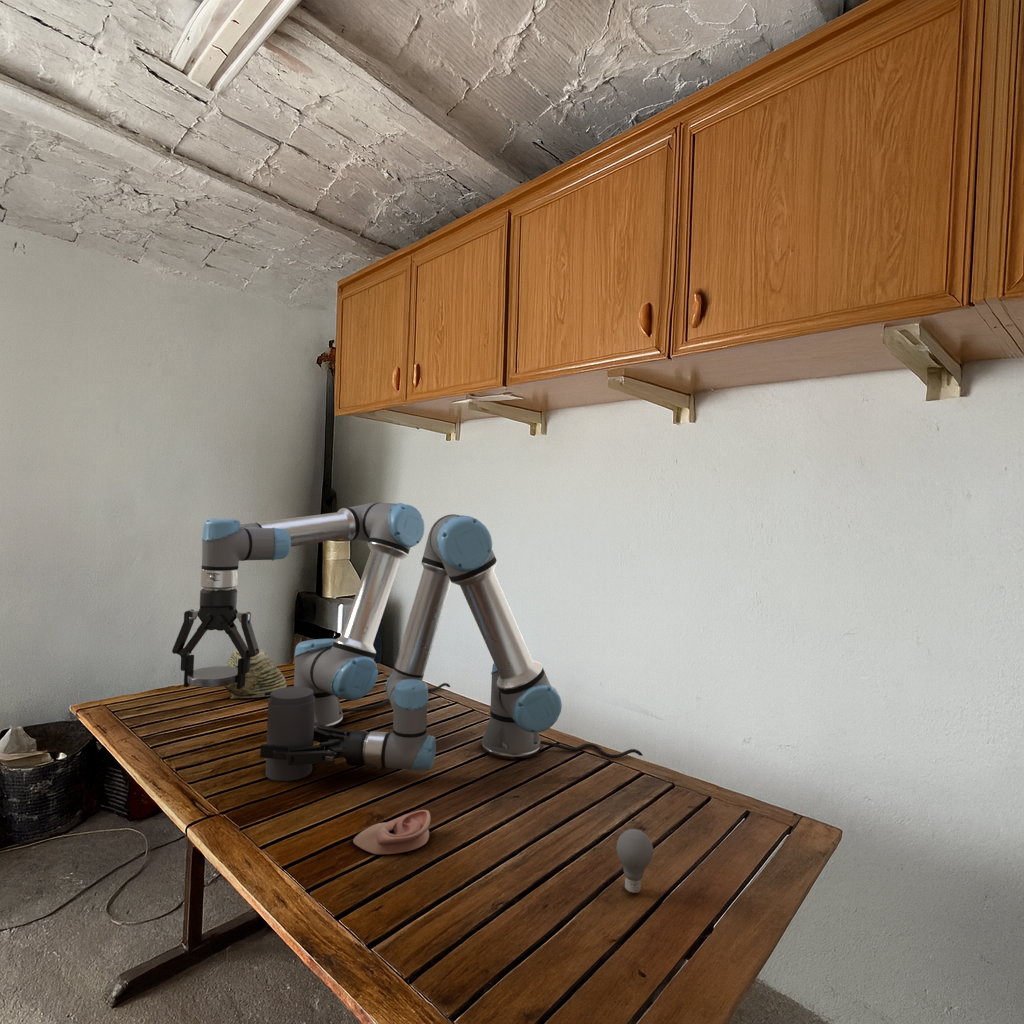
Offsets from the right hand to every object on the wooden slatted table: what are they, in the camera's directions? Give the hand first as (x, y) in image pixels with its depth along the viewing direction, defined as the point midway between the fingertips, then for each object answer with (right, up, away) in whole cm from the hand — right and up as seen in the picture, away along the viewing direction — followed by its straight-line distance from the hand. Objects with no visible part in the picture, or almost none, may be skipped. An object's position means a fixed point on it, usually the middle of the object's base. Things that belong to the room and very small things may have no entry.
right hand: (272, 741), depth 145 cm
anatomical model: (+33, -9, -27) cm, 43 cm away
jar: (+4, -7, 0) cm, 8 cm away
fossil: (-26, -4, +53) cm, 59 cm away
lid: (-11, +17, -4) cm, 20 cm away
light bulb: (+75, -11, -40) cm, 86 cm away
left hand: (-11, +14, -4) cm, 18 cm away
